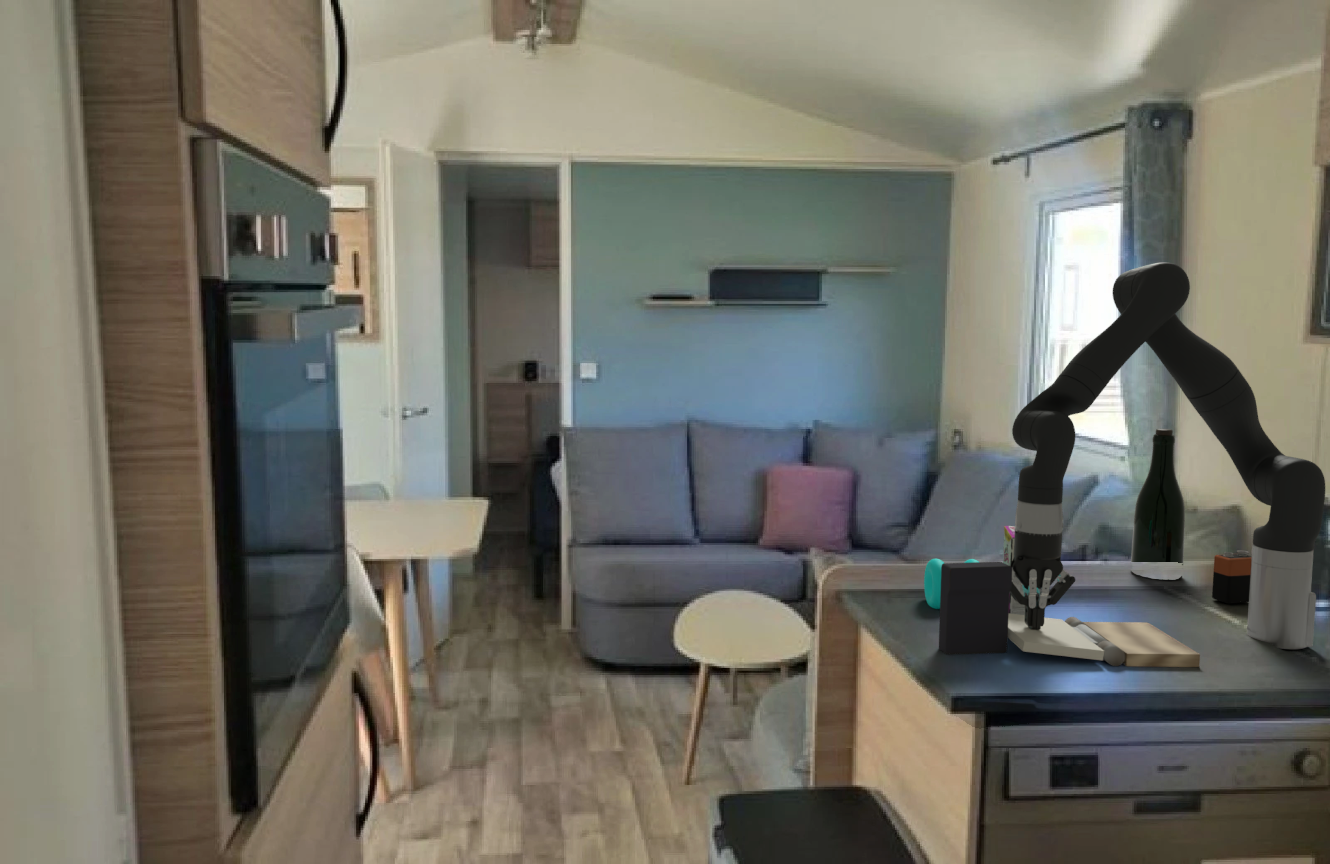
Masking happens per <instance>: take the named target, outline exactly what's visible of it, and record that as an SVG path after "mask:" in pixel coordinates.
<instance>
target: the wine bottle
mask: <svg viewBox="0 0 1330 864" xmlns="http://www.w3.org/2000/svg"><path fill="white" fill-rule="evenodd" d="M1173 432H1174V431H1173V429H1170V428H1157V429H1155V434H1153V437H1152V454H1151V460H1150V466H1149V470H1148V473H1147V476H1146V478H1145V480H1144V483H1143V484H1142V487H1141V489H1140V491H1139V493H1138V495H1137V499H1136V502H1135V503H1136V504H1135V508H1134V509H1135V510H1134V517H1133V519H1134V520H1133V528H1132V529H1133V530H1132V542H1131V558H1130V563H1131V562H1178V563H1183V564H1184V559H1185V558H1184V557H1185V531H1186V530H1185V527H1186V514H1185V513H1186V510H1185V509H1186V508H1185V501H1184V500H1185V499H1184V497H1183V493H1182V491H1181V488H1180V485H1179V483H1178V480H1177V475H1176V471H1175V457H1174V455H1175V454H1174V453H1175V443H1176V439H1175V435H1174V434H1173Z"/></svg>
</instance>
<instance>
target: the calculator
mask: <svg viewBox="0 0 1330 864" xmlns="http://www.w3.org/2000/svg"><path fill="white" fill-rule="evenodd" d="M1011 586H1012V567H1011V566H1009V565H1007V564H1005V563H1003V561H985V562H984V561H983V562H982V561H979V562H974V563H964V562H953V563H952V562H947V563H946V562H944V564H942V567H941V595H940V609H939V623H938V624H939V625H938V626H939V629H938V630H939V631H938V633H939V634H938V649H939V651H941V652H942V653H943V654H945V655H946V656H947V655H981V654H982V655H983V654H985V655H986V654H987V655H988V653H989V654H1006V652H1008V640H1009V638H1008V615H1009V592H1010V590H1011Z"/></svg>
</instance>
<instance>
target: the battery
mask: <svg viewBox="0 0 1330 864" xmlns="http://www.w3.org/2000/svg"><path fill="white" fill-rule="evenodd" d="M1249 554H1250V552H1249V551H1247V550H1236V553H1233V552H1228V551H1224V554H1216V555H1215V554H1214V557H1213V559H1214V560H1213V574H1212V591H1211V593H1212V595H1211V598H1212V599H1213V600H1216V601H1219V602H1222V603H1224V604H1238V603H1239V604H1240V603H1241V604H1242V603H1249V592H1250V577H1251V561H1252V555H1249Z"/></svg>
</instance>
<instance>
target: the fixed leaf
mask: <svg viewBox="0 0 1330 864" xmlns="http://www.w3.org/2000/svg"><path fill="white" fill-rule="evenodd" d="M1064 622H1066V623H1067V624H1068V625H1070V626H1071V627H1076V626H1078V625H1080V624H1084V625H1086V626H1088V627H1089V628H1090V629H1092V630H1093V631H1095V632H1096V633H1098V634H1099V635H1100V636H1102V637H1103V638H1105V639H1106V640H1107V641H1102V642H1100V643H1099V644H1098V645H1097V646H1098V647H1100V648H1101V649H1102V650H1104V656H1103V661H1105V662H1106V663H1107V664H1109V665H1111V666H1113V667H1119V666H1121V665H1122V664H1123V665H1124V666H1125V667H1156V668H1157V667H1159V668H1160V667H1161V668H1166V667H1167V668H1169V667H1170V668H1177V667H1179V668H1200V662H1201V653H1199V652H1197V651H1195V650H1194V649H1192V648H1190V647H1189V646H1188V645H1186V644H1184V643H1183V642H1180V641H1179V640H1177V639H1176V638H1174V637H1173V636H1170V635H1169V634H1167V633H1166V632H1164V631H1163V630H1161V629H1159V628H1158V627H1156V626H1154V625H1152V624H1151V623H1149V622H1140V621H1137V622H1134V621H1130V622H1129V621H1125V622H1124V621H1120V622H1119V621H1115V622H1114V621H1081V620H1080V619H1079V618H1077V617H1075V616H1070V617H1069V616H1068V617H1066V619H1065V620H1064Z"/></svg>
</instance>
